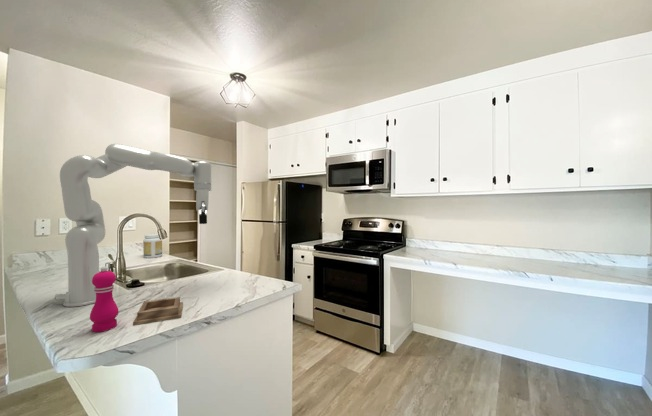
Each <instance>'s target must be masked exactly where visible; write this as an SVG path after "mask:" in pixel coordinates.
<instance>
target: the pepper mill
mask: <svg viewBox="0 0 652 416" xmlns="http://www.w3.org/2000/svg"><path fill="white" fill-rule="evenodd" d="M116 280H117V277H116V273H114V272H113V271H111V270H108V266H104V265H103V266H102V267H100V271H99V273H97V274H95V275H94V276H93V278H92V284H93V285H94V286H95V288H94V289H95V291H94V292H95V293H96V301H95V303H93V307H92V308H91V311H90V314H89V320H90V321H91V322H92V323H93V324H92V325H91V331H92V332H94V333H101V332H106V331H109V330H113V329H115V328H116V326H117V325H118V320H117V318H116V317H118V316H119V313H120V312H119V307H118V305H117V303H116V302H115V300H114V296H113V291H114V290H115V287H114V286H115V285H114V283H115V282H116Z"/></svg>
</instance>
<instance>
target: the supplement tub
mask: <svg viewBox="0 0 652 416" xmlns="http://www.w3.org/2000/svg"><path fill="white" fill-rule="evenodd" d="M158 234H159V233H153V234H152V233H151V234H150V233H149V234H144V239H143V243H142V244H143V258H145V259H155V258H160V257H162V256H163V239H162V240H160V239H159V237H158Z"/></svg>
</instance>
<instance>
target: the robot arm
mask: <svg viewBox="0 0 652 416" xmlns="http://www.w3.org/2000/svg"><path fill="white" fill-rule="evenodd" d="M126 167H131V168H136V169H137V168H138V169H142V170H147V171H163V172H169V173H174V174H178V175H179V176H180V177H183V178H188V177H189V178H190V177H193V187H194V188H193V191H196V193H195V194H196V195H195V196H196V197H195V200H196V201H195V204H196V206H195V207H196V212H198V211H199V215H198V216H199V217H198V218H199V219H198V220H199V221H198V223H199V225H207V224H208V215H207V212H208V210H209V194H210V192H211V191H212V164H211V163H210V162H209V161H201V160H200V161H196V162H192V160H189V159H188V158H184V157H181V156H176V155H173V154H169V153H161V152H156V151H152V150H148V149H143V148H140V147H139V148H138V147H134V146H130V145H125V144H120V143H111V144H108V145H107V146H106V148H105V151H104V154H103V155H99V156H97V157H94V156H91V155H87V154H81V155H80V154H79V155H75V156H73V157H70V158H69V159H67V160H66V161H65V162H64V163H63V164H62V165H61V167H60V170H59V182H60V189H61V196H62V201H63V202H62V203H63V209H64V214H65V216H66V218H67V219H68V220H70V221H72V222H76V226H73V227H72V228H70V230H68V232H67V233H66V235H65V239H64V240H65V247H66V253H67V271H68V272H67V277H68V278H67V279H68V280H67V283H68V284H67V285H68V292H65V293H58V294H57V293H56V294H55V296H54V300H56V301H62V300H64V301H63V302H62V303H63V304H62V305H63V306H64V307H69V308H71V307H72V308H73V307H81V306H83V307H84V306H88V305H92V304H95V301H96V293H95V292H94V291H95V289H94V288H95V286H94V285H93V284H92V278H93V276H94V275H95V274H97V273H99V272H100V255H99V248H98V244H100V243H101V242H102V241H103V240H104V239H105V236H106V226H105V220H104V214H103V209H102V207H101V205H100V204H99V203H98V202H97V201H95V200H94V199H92V195H91V188H90V184H89V181H88V180H89V178H92V179H103V178H104V177H107V176H109V175H111V174H113V173H115V172H116V173H117V172H119V171H120V170H122V169H125V168H126Z"/></svg>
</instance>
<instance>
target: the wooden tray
mask: <svg viewBox="0 0 652 416" xmlns="http://www.w3.org/2000/svg"><path fill="white" fill-rule="evenodd" d="M183 308H184V302H183V301H181V297H180V296H176V297H168V298H160V299H154V300H152V299H151V300H146V301H145V300H144V301H143V303H142V304H141V306H140V308H139V310H138V312H137V314H136V316H135V318H134V320H133V322H132V326H138V325H143V324H150V323H156V322H163V321H169V320H174V319H181V318H182V313H183Z"/></svg>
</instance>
